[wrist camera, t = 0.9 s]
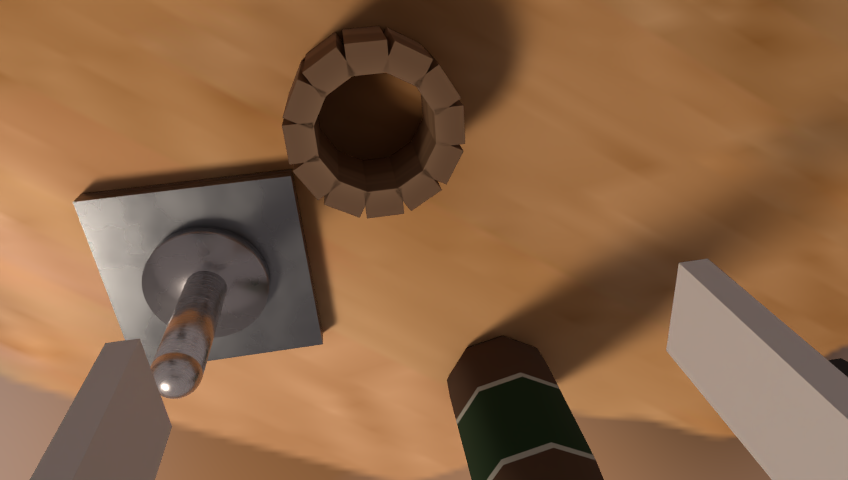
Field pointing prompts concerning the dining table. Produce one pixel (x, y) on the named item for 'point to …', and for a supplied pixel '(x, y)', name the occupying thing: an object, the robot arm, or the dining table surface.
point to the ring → (385, 177)
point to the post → (204, 270)
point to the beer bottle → (516, 416)
